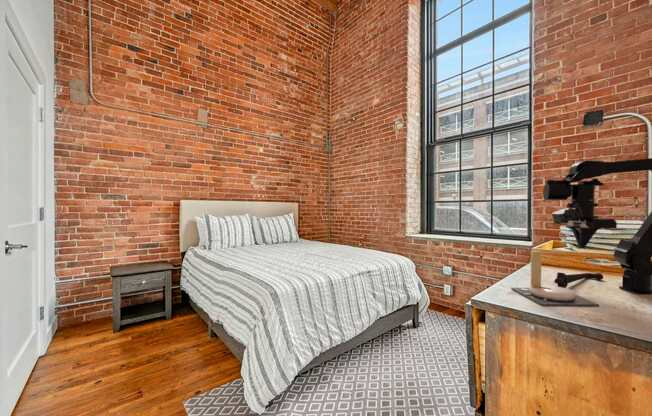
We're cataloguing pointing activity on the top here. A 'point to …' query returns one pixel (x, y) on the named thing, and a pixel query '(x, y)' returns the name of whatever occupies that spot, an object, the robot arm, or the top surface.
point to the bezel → (549, 302)
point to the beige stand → (546, 290)
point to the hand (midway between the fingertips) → (581, 247)
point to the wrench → (574, 278)
